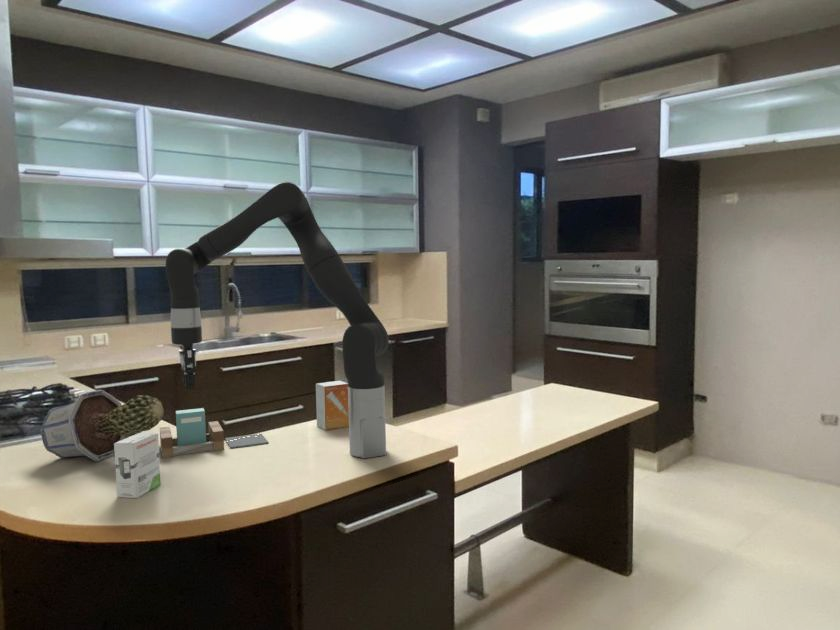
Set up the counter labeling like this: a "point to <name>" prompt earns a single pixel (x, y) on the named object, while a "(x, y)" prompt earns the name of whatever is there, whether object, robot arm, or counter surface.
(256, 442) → the mat
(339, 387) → the small box
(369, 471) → the counter surface
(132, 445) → the ink box
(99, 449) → the potted plant
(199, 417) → the teal box
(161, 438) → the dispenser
